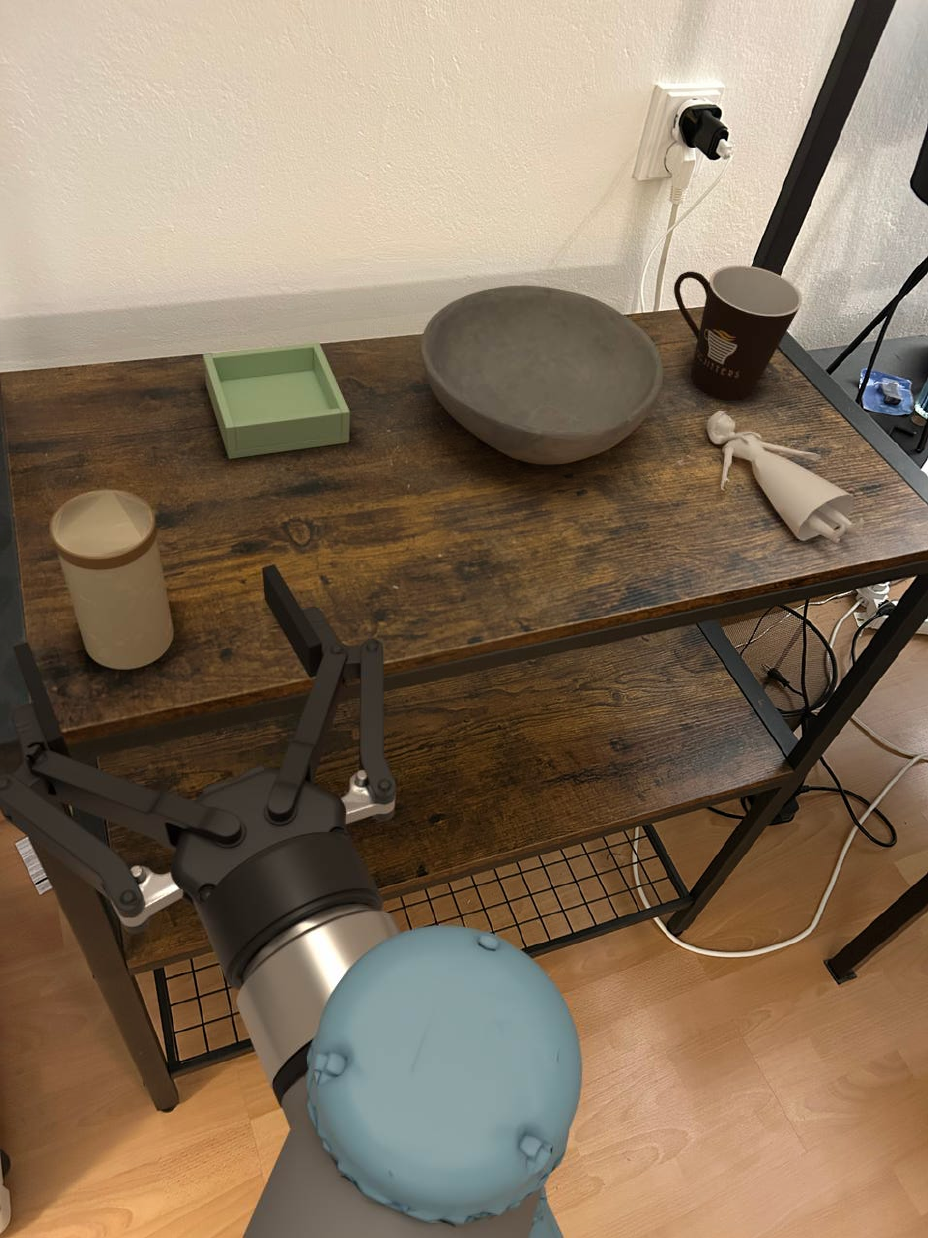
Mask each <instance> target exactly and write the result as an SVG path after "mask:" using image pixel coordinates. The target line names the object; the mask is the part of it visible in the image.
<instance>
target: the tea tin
mask: <svg viewBox="0 0 928 1238" xmlns="http://www.w3.org/2000/svg"><path fill="white" fill-rule="evenodd" d="M157 526H158V525H157V521H156V515H155V513H154V510H153V508H152V506H151V505H150V504H149V503H148V502H147V501H146V500H145V499H144V498H142V497H141V496H139V495H137V494H135V493H132V492H130V491H126V490H120V489H113V488H105V489H96V490H90V491H86V492H84V493H81V494H78V495H75V496H73V497H72V498H70V499H68V500H67V501H65V502H64V503H62V504H61V505H60V506H59V507H58V508H57V509H56V510H55V512H54V513H53V515H52V517H51V519H50V523H49V536H50V538H51V542H52V545H53V548H54V550H55V552H56V554H57V557H58V560H59V563H60V566H61V570H62V573H63V577H64V580H65V583H66V586H67V591H68V594H69V596H70V600H71V604H72V607H73V610H74V611H73V612H74V614H75V617H76V621H77V625H78V628H79V631H80V634H81V638H82V641H83V645H84V648H85V651H86V653H87V654H88V656H89V657H90V658H91V659H92V660H93V661H95V662H96V663H97V664H99V665H101V666H103V667H106V668H110V669H112V670H113V669H115V670H133V669H134V670H135V669H138V668H142V667H145V666H147V665H150V664H152V663H153V662H156V661H157V660H158V659H160V658H161V657H162V656H163V655H165V653H166V652H167V651H168V650H169V649H170V646H171V644H172V643H173V640H174V633H175V632H174V624H173V618H172V614H171V608H170V603H169V596H168V592H167V585H166V580H165V575H164V570H163V563H162V558H161V552H160V546H159V542H158V541H159V540H158V535H157V533H158V527H157Z"/></svg>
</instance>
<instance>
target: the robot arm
mask: <svg viewBox="0 0 928 1238" xmlns="http://www.w3.org/2000/svg"><path fill="white" fill-rule="evenodd" d="M261 572H262V585H263V596H264V598H263V599H264V601H265V602H266V604H267V606H268V608H269V610H270V611H271V613H272V615H273V616H274V618H275V620H276V622H277V623H278V624H277V625H279V628H280V629H281V631H282V633H283V634H284V636H285V638H286V640H287V641H288V643H289V645H290V646H291V648H292V650H293V651H294V654H295V655H296V656H297V658H298V660H299V662H300V663H301V666H302V667H303V669H304V671H305V673H306V674H307V676H308V678H309V679H312V678H314V680H313V682H312V686H311V688H310V691H309V693H308V694H309V695H308V696H307V699H306V702H305V705H304V708H303V711H302V713H301V716H300V719H299V720H298V724H297V727H296V730H295V733H294V735H293V738H292V740H289V743H288V744H287V748H286V750H285V753H284V755H283V759H282V762H281V765H280V768H279V767H265V765H264V763H263V764H262V763H261V764H259V765H256V766H254V767H252V768H248V769H246V771H244V772H243V773H242V774H240V775H239V776H237V777H236V778H233V779H229V780H224V781H218V782H214V783H212V784H210V785H207V786H205V787H203V788H201V794H199V796H197V797H196V798H195V799H194V800H193V799H190V798H188V797H185V796H182V795H180V794H177V793H175V792H173V791H168V790H164V791H162V792H160V791H158V790H157V791H156V790H154V789H152V788H149V787H146V786H143V785H141V784H138V783H136V782H133V781H132V780H131V781H130V780H128V779H126V778H123V777H120V776H118V775H116V774H112V773H110V772H107V771H105V770H102V769H99V768H97V767H95V766H92V765H89V764H87V763H84V762H81V761H80V760H79V761H78V760H77V759H74V758H72V756H71V754H70V751H69V749H68V748H69V747H68V746H67V743H66V740H65V737H64V734H63V732H62V729H61V727H60V725H59V721H58V719H57V716H56V713H55V711H54V708H53V705H52V702H51V700H50V697H49V695H48V692H47V689H46V686H45V683H44V681H43V678H42V675H41V672H40V670H39V668H38V665H37V663H36V660H35V657H34V654H33V651H32V648H31V647H30V643H29V641H28V642H24V643H21V644H18V645H14V646H12V648H13V652H14V654H15V656H16V660H17V663H18V666H19V668H20V670H21V674H22V676H23V680H24V682H25V685H26V687H27V691H28V692H29V696H30V699H31V703H27V704H25V705H22V706H19V707H16V708H13V709H12V714H11V721H12V724H13V727H14V730H15V732H16V736H17V739H18V742H19V744H20V745H19V746H20V748H21V751H22V754H21V755H22V757H23V761H22V763H21V765H20V766H19V767H18V768H17V769H16V770H14V771H13V772H11V773H1V774H0V813H1V815H2V816H3V818H4V819H5V820H6V821H7V822H8V823H9V824H11V825H12V826H14V827H15V828H16V829H18V830H19V831H20V832H22V834H24V835H25V836H27V837H28V838H29V839H31V840H32V841H33V842H35V843H36V844H37V845H38V846H39V847H41V848H42V849H43V850H45V852H47V853H48V854H50V855H51V856H52V857H54V858H55V859H57V860H58V861H59V862H60V863H62V864H63V865H64V866H66V868H68V869H69V870H70V871H72V872H73V873H75V874H76V875H77V877H80V878H81V879H82V880H84V881H85V882H86V883H87V884H89V885H90V886H91V887H93V889H95V890H96V891H98V892H99V893H100V894H101V895H103V896H104V897H105V898H107V899H108V900H109V902H110V904H111V906H112V908H113V910H114V911H115V914H116V915H117V917H118V919H119V921H120V923H121V925H122V926H123V928H124V930H125V931H126V932H127V933H129V934H133V935H137V934H140V933H144V931H146V930H147V929H148V927H149V926H150V924H151V920H152V919H151V916H152V915H154V914H156V913H158V912H159V911H161V910H163V909H165V908H167V907H168V906H170V905H171V904H174V903H175V902H178V901H179V900H181V899H183V900H185V901H187V902H188V903H189V904H191V905H192V907H193V908H194V909H195V910H196V912H197V914H198V916H199V919H200V921H201V923H202V926H203V928H204V931H205V933H206V936H207V938H208V940H209V943H210V946H211V947H212V949H213V952H214V954H215V957H216V959H217V962H218V964H219V967H220V969H221V971H222V974H223V976H224V978H225V981H226V983H227V985H229V987H230V988H232V989H234V990H237V991H238V994H237V996H236V1000H235V1002H236V1006H237V1009H238V1012H239V1014H240V1018H241V1019H242V1022H243V1024H244V1026H245V1029H246V1032H247V1033H248V1036H249V1039H250V1041H251V1043H252V1046H253V1048H254V1051H255V1053H256V1055H257V1058H258V1061H259V1063H260V1065H261V1068H262V1070H263V1072H264V1074H265V1077H266V1080H267V1083H268V1085H269V1087H270V1088H271V1090H272V1091H273V1094H274V1096H275V1099H276V1100H277V1104H278V1105H279V1107H280V1108H281V1109H282V1111H283V1114H284V1116H285V1119H286V1121H287V1125H288V1126H289V1131H288V1134H287V1136H286V1138H285V1141H284V1142H283V1145H282V1147H281V1149H280V1152H279V1153H278V1155H277V1158H276V1161H275V1163H274V1165H273V1167H272V1170H271V1172H270V1174H269V1176H268V1179H267V1181H266V1183H265V1186H264V1188H263V1190H262V1192H261V1194H260V1197H259V1198H258V1201H257V1203H256V1206H255V1208H254V1211H253V1212H252V1214H251V1217H250V1219H249V1221H248V1224H247V1226H246V1228H245V1230H244V1233H243V1235H242V1236H241V1237H242V1238H565V1236H564V1235H563V1232H562V1230H561V1228H560V1225H559V1223H558V1221H557V1219H556V1217H555V1215H554V1213H553V1210H552V1209H551V1207H550V1204H549V1202H548V1197H547V1188H546V1187H545V1185H546V1184H547V1182H548V1180H549V1177H550V1175H551V1174H552V1173H553V1172H555V1170H556V1169H557V1168H558V1167H559V1166H560V1165H561V1163H562V1161H563V1160H564V1157H565V1154H566V1151H567V1148H568V1141H569V1138H570V1137H569V1136H570V1129H571V1127H572V1125H573V1122H574V1120H575V1117H576V1114H577V1112H578V1108H579V1103H580V1099H581V1092H582V1085H583V1084H582V1083H583V1058H582V1051H581V1043H580V1037H579V1034H578V1033H579V1032H578V1029H577V1026H576V1023H575V1020H574V1018H573V1015H572V1013H571V1011H570V1010H571V1009H570V1007H569V1006H568V1004H567V1002H566V1000H565V998H564V996H563V994H562V992H561V991H560V989H559V988H558V987H557V985H556V984H555V982H554V981H553V979H552V978H551V976H549V975H548V973H547V972H546V971H545V970H544V968H542V966H541V965H539V964H538V963H537V962H536V961H535V960H534V959H533V958H532V957H531V956H529V954H527V953H526V952H525V951H523V950H522V949H520V948H519V947H517V946H515V945H514V944H512V943H511V942H509V941H507V940H505V939H503V938H501V937H499V936H497V935H496V934H494V933H492V932H487V931H483V930H480V929H476V928H473V927H468V926H467V927H466V926H462V925H446V924H445V925H444V924H443V925H429V926H422V927H417V928H412V929H409V930H406V931H403V932H402V930H401V928H400V926H399V924H398V922H397V920H396V919H395V917H394V916H393V914H391V913H389V912H386V911H383V906H384V898H383V895H382V893H381V892H380V889H379V888H378V886H377V884H376V882H375V880H374V878H373V876H372V875H371V873H370V871H369V869H368V868H367V866H366V864H365V862H364V860H363V858H362V857H361V854H360V852H359V851H358V848H357V847H356V844H355V843H354V841H353V840H352V838H351V835H350V834H349V832H348V828H347V825H348V824H351V823H354V822H357V821H361V820H364V819H366V818H369V817H372V818H373V819H374V820H376V821H377V822H382V823H383V822H384V823H385V822H388V821H390V820H391V819H392V818H393V817H394V815H395V812H396V811H395V810H396V801H397V800H396V799H397V789H398V786H397V785H398V784H397V781H396V779H395V777H394V774H393V772H392V770H391V767H390V765H389V763H388V760H387V758H386V756H385V707H384V706H385V703H384V702H385V700H384V699H385V698H384V697H385V696H384V691H385V690H384V688H385V687H384V686H385V685H384V646H383V645H384V644H382V642H381V641H379V640H378V639H374V638H369V639H365V640H363V642H362V643H361V644H360V645H348V644H345V643H344V642H342V641H341V640H340V639H339V637H338V635H337V634H336V633H335V631H334V629H333V627H332V626H331V624H330V622H329V621H328V619H327V618H326V615H325V614H324V613H323V610H321V609H320V608H318V607H316V606H315V605H313V606H310V607H306V608H304V609H302V607H301V606H300V604H299V602H298V601H297V599H296V598H295V596H294V594H293V592H292V591H291V589H290V587H289V585H288V584H287V583H286V581H285V579H284V578H283V576H282V574H281V572H280V571H279V569H278V568H277V566H276V564H275V563H273V564H269V565H267V566H266V565H265V566H263V567H261ZM349 680H359V726H358V727H359V734H358V735H359V738H358V741H359V742H358V743H359V744H358V750H359V751H358V770H357V771H356V772H355V773H353V775H351V777H350V778H349V783H348V784H349V785H348V791H347V793H346V794H345V795H344V796H339V795H337V794H336V793H335V792H332V791H331V790H328V789H326V788H324V787H321V786H319V785H317V784H315V783H316V777H317V772H318V768H319V766H320V763H321V760H322V758H323V757H322V756H323V753H324V750H325V748H326V744H327V742H328V739H329V736H330V733H331V730H332V727H333V724H334V721H335V718H336V714H337V712H338V709H339V706H340V703H341V699H342V696H343V694H344V691H345V688H348V681H349ZM45 797H46V798H49V799H52V800H54V801H56V802H59V803H61V804H63V805H66V806H69V807H72V808H74V809H77V810H80V811H82V812H85V813H87V814H89V815H92V816H95V817H97V818H99V819H103V820H105V821H108V822H110V823H112V824H114V825H117V826H120V827H122V828H124V829H128V830H129V831H132V832H135V833H137V834H140V835H143V836H145V837H147V838H150V839H153V840H154V841H156V843H158V844H159V845H160V846H162V847H163V848H165V849H167V850H170V851H172V852H174V854H173V857H172V861H171V865H170V871H168V872H167V873H164V874H159V873H155V872H154V871H152V870H151V869H150V868H149V867H147V866H143V865H141V864H138V865H137V864H135V865H133V866H131V867H130V868H129V866H128V864H127V862H126V861H125V859H123V858H122V857H121V856H120V854H118V853H117V851H115V850H114V849H113V848H111V847H110V846H109V845H108V844H106V843H104V842H103V841H102V840H101V839H99V838H98V837H97V836H95V835H94V834H92V833H91V832H90V831H89V830H87V829H86V828H85V827H83V826H82V825H81V824H79V823H78V822H77V821H76V820H74V819H72V818H71V817H70V816H69V815H68V814H66V813H64V812H63V811H62V810H60V809H59V808H58V807H57V806H56V805H54V804H52V803H51V802H50V801H49V800H48V799H46V798H45Z"/></svg>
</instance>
